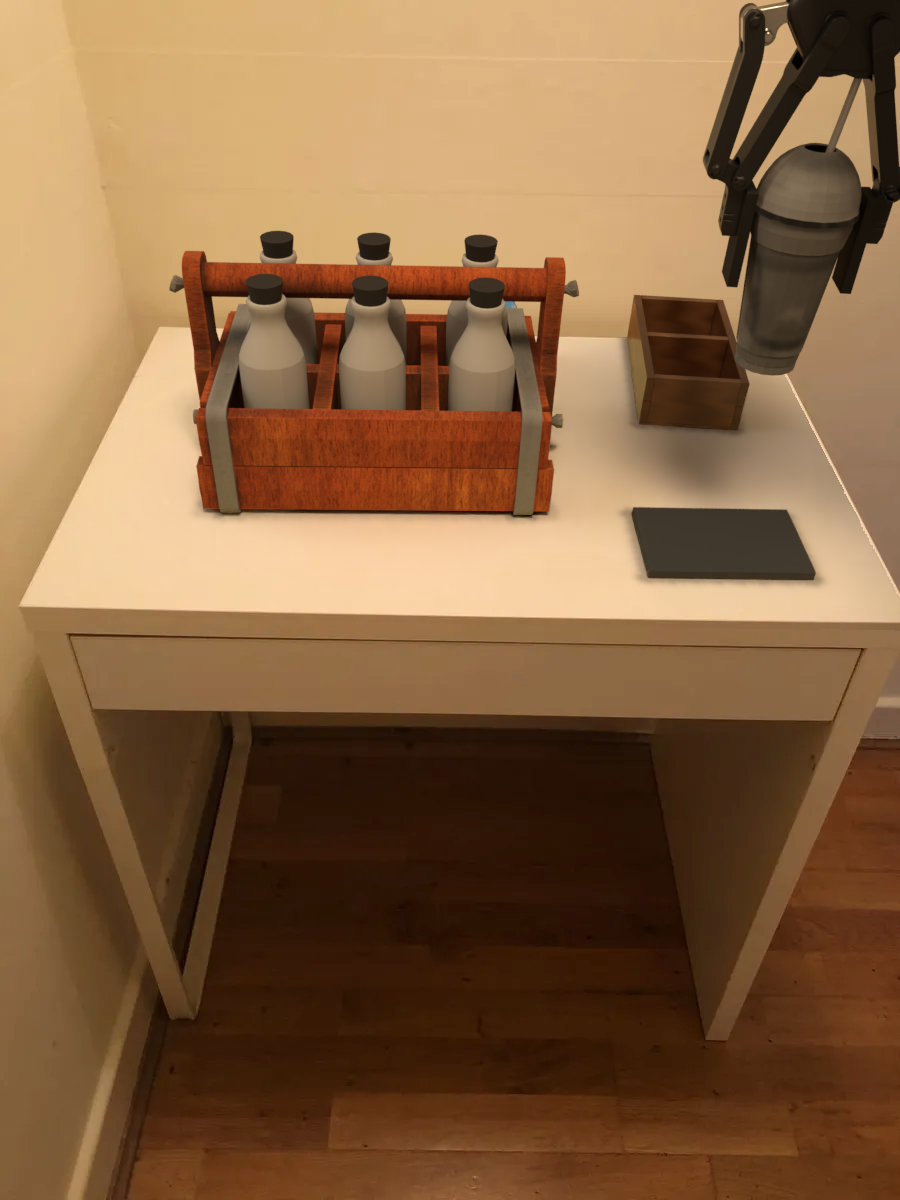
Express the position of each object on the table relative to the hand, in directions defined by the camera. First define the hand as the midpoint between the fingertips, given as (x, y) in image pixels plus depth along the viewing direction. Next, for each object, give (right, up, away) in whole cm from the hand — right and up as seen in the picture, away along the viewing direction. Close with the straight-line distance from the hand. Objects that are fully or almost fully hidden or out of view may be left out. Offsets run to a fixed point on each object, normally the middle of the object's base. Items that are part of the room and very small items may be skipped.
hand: (785, 282), depth 71 cm
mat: (-1, -18, +15) cm, 23 cm away
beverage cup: (0, -5, +4) cm, 7 cm away
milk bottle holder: (-31, -9, +24) cm, 40 cm away
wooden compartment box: (+1, +1, +37) cm, 37 cm away
